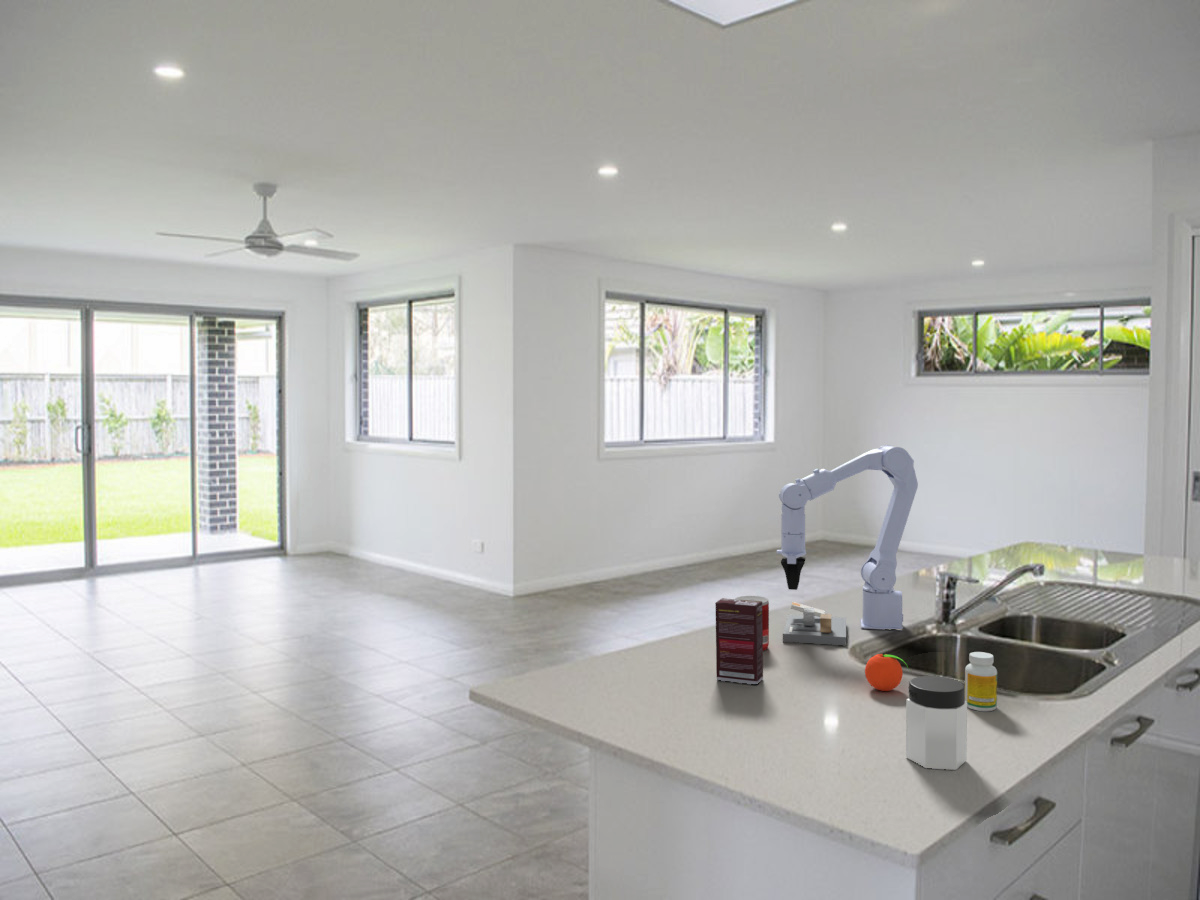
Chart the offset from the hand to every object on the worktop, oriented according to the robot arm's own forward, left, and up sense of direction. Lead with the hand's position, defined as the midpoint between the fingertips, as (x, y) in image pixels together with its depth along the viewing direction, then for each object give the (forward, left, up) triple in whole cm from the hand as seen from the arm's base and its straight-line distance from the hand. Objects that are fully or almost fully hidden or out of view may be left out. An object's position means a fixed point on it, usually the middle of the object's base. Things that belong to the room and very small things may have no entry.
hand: (793, 588), depth 224 cm
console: (-5, +6, -9) cm, 12 cm away
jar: (-26, +79, -10) cm, 83 cm away
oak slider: (-8, +12, -7) cm, 16 cm away
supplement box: (+8, +46, -10) cm, 47 cm away
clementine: (-20, +46, -10) cm, 51 cm away
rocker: (-3, 0, -5) cm, 6 cm away
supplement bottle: (-36, +52, -10) cm, 64 cm away
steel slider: (-4, +6, -7) cm, 10 cm away
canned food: (+8, +22, -10) cm, 25 cm away
